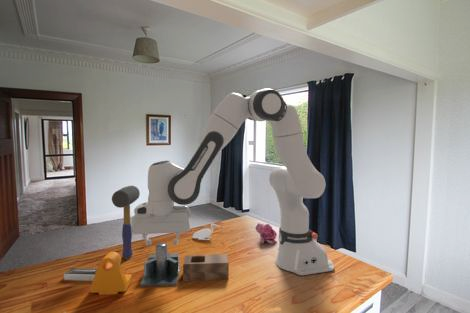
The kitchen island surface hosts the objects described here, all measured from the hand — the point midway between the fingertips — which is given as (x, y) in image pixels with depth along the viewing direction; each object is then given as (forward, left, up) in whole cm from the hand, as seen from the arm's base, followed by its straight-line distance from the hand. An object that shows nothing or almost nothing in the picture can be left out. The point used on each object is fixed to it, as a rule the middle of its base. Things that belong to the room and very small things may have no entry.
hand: (162, 244), depth 92 cm
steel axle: (0, 0, -11) cm, 11 cm away
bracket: (+15, +6, -12) cm, 20 cm away
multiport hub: (+27, -2, -13) cm, 30 cm away
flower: (-45, -33, -12) cm, 57 cm away
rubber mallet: (+17, -16, -12) cm, 27 cm away
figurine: (-15, -34, -12) cm, 39 cm away
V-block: (0, 0, -12) cm, 12 cm away
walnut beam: (-16, 0, -12) cm, 20 cm away
